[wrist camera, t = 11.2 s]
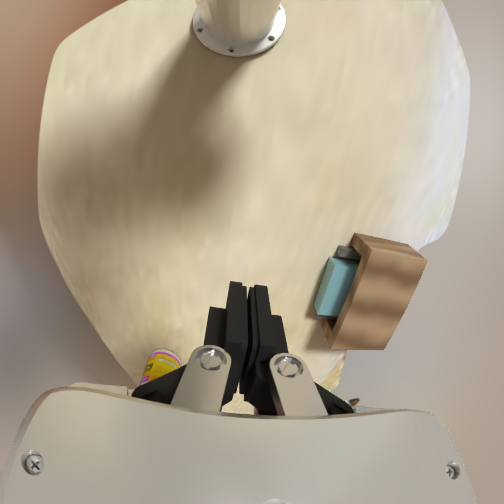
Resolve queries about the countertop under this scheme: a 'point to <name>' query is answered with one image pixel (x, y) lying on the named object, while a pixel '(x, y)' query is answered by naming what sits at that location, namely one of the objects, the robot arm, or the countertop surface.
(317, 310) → the pale blue foam block
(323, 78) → the countertop surface
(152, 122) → the countertop surface
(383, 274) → the shelf dock
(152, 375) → the supplement bottle
